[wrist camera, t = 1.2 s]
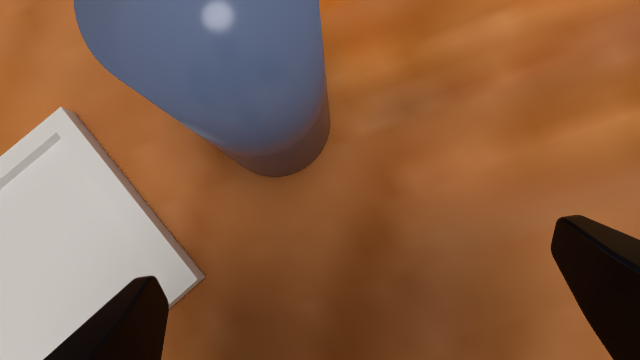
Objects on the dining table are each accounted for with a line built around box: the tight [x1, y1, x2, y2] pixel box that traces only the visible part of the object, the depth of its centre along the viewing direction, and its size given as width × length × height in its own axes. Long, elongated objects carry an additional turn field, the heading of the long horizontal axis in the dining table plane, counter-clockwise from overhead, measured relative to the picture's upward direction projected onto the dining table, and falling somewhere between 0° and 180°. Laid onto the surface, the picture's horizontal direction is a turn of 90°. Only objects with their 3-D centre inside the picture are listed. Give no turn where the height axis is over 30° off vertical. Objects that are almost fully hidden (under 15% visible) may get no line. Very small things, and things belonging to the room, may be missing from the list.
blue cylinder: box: [74, 0, 330, 177], centre depth 16 cm, size 6×6×13 cm
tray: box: [0, 107, 205, 360], centre depth 22 cm, size 13×13×1 cm
